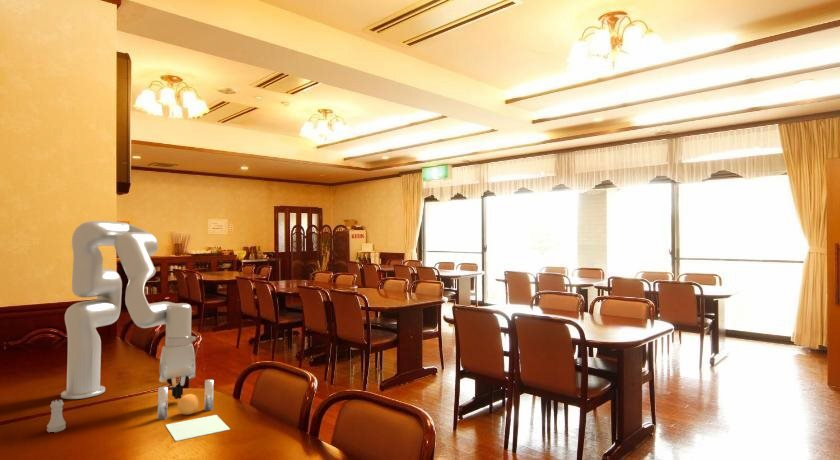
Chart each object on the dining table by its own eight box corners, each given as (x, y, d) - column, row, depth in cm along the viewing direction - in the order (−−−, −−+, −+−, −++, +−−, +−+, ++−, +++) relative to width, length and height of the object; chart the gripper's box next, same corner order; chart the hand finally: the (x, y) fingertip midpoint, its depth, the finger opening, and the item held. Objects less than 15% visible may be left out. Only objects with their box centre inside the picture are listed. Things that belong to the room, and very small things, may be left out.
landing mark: (165, 425, 142) (165, 424, 142) (216, 415, 150) (216, 414, 150) (175, 441, 131) (175, 440, 131) (230, 429, 139) (230, 428, 139)
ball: (178, 420, 149) (174, 404, 153) (199, 416, 152) (195, 400, 156) (181, 408, 146) (177, 391, 150) (202, 404, 150) (198, 388, 153)
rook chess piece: (55, 433, 135) (56, 404, 135) (42, 432, 136) (42, 403, 136) (70, 427, 140) (70, 399, 140) (57, 426, 140) (57, 398, 141)
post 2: (203, 409, 156) (203, 380, 156) (211, 407, 157) (212, 378, 158) (205, 411, 154) (205, 382, 154) (214, 409, 155) (214, 380, 155)
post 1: (156, 417, 148) (157, 387, 148) (166, 415, 149) (167, 385, 150) (158, 420, 146) (159, 389, 146) (168, 418, 147) (168, 388, 148)
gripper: (199, 337, 170) (198, 390, 169) (150, 342, 161) (149, 399, 160) (205, 340, 164) (204, 396, 163) (154, 346, 155) (153, 405, 154)
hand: (177, 397), depth 162 cm, fingers closed
